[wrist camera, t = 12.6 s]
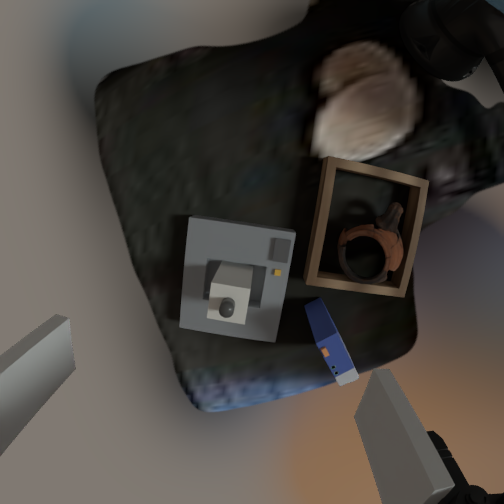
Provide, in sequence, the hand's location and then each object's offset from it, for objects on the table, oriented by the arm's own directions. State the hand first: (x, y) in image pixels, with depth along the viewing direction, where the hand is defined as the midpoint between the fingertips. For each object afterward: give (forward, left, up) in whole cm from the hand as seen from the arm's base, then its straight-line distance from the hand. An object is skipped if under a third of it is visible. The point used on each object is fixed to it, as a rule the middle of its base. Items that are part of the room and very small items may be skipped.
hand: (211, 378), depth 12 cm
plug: (+1, +6, -32) cm, 33 cm away
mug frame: (-16, -4, -33) cm, 37 cm away
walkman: (-13, +11, -33) cm, 37 cm away
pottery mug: (-18, -2, -33) cm, 37 cm away
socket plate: (+1, +6, -33) cm, 33 cm away
